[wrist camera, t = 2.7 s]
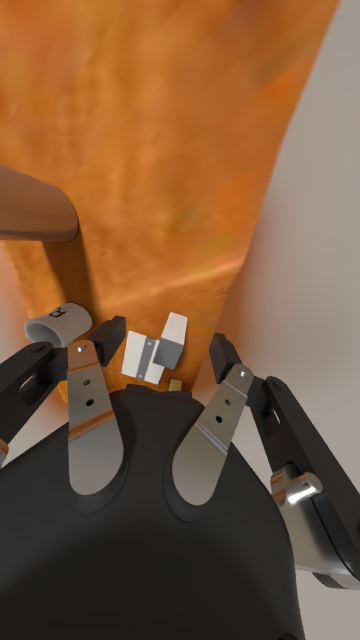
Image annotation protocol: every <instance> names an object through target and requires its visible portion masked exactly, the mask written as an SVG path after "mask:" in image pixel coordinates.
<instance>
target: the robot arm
mask: <svg viewBox="0 0 360 640" xmlns="http://www.w3.org/2000/svg"><path fill="white" fill-rule="evenodd" d="M77 229H78V220H77V215H76V212H75V209H74V207H73V205H72V203H71V202H70V200H69V199H68V197H67V196H66V195H65V194H64V193H63V192H62V191H61V190H60V189H59V188H57V187H55V186H54V185H51V184H49V183H46V182H44V181H41V180H39V179H36V178H34V177H32V176H29V175H27V174H25V173H22V172H20V171H17V170H15V169H12V168H10V167H7V166H5V165H2V164H0V240H20V241H69V240H71V239H72V238H73V237H74V236H75V235H76V233H77ZM125 335H126V318H125V317H121V316H115V317H114V318H113V319H112V320H108V321H106V322H103V323H102V324H101V325H100V326H99V327H98V328H97V329H96V330H95V331H94V332H93V333H92V334H91V335H90V336H88V337H87V338H86V339H85V340H79V341H76V342H73V343H72V344H70V345H69V347H62V348H54V347H53V344H52V343H51V342H47V341H41V342H36V343H32V344H30V345H28V346H26V347H24V348H23V349H21V350H20V351H18V352H17V353H15V354H14V355H13V356H11V357H10V358H8V359H7V360H5V361H4V362H3V363H1V364H0V640H306V639H305V634H304V630H303V625H302V620H301V614H300V608H299V603H298V594H297V587H296V574H295V569H299V570H304V571H309V572H312V573H313V575H314V576H315V577H316V578H317V579H318V580H319V581H320V582H321V583H322V584H324V585H325V586H327V587H329V588H339V589H351V590H360V494H359V492H358V491H357V489H356V488H355V486H354V485H353V484H352V482H351V480H350V479H349V477H348V476H347V475H346V473H345V472H344V470H343V469H342V467H341V466H340V464H339V463H338V461H337V460H336V458H335V457H334V455H333V454H332V452H331V451H330V449H329V448H328V446H327V445H326V443H325V442H324V440H323V439H322V437H321V436H320V434H319V433H318V431H317V430H316V428H315V427H314V425H313V424H312V422H311V421H310V419H309V418H308V416H307V415H306V413H305V412H304V410H303V409H302V407H301V406H300V404H299V403H298V401H297V400H296V398H295V397H294V395H293V394H292V392H291V391H290V389H289V388H288V386H287V385H286V384H285V383H284V382H283V381H281V380H280V379H278V378H276V377H272V376H269V377H267V379H266V380H263V379H261V378H259V377H256V376H254V374H253V372H252V371H251V370H250V369H249V368H248V367H247V366H245V365H243V364H242V362H241V360H240V358H239V356H238V354H237V352H236V350H235V348H234V346H233V344H232V343H231V342H230V341H229V340H227V339H226V337H225V335H224V334H221V333H215V334H214V337H213V339H212V342H211V345H210V349H209V352H210V356H211V361H212V366H213V370H214V374H215V379H216V383H217V384H221V385H220V386H219V388H218V389H217V391H216V392H215V394H214V395H213V397H212V398H211V400H210V401H209V403H208V405H207V406H206V407H205V406H204V405H203V404H201V403H200V402H199V401H197V400H195V399H193V398H192V392H185V391H178V390H175V391H166V392H158V391H155V390H153V389H150V388H148V387H146V386H142V385H135V384H127V386H126V388H125V389H121V390H117V391H114V392H112V393H110V394H108V391H107V387H106V384H105V380H104V376H103V373H102V369H101V367H106V366H107V365H108V363H109V362H110V360H111V359H112V357H113V355H114V354H115V352H116V351H117V349H118V348H119V346H120V345H121V343H122V341H123V340H124V338H125ZM31 376H32V378H31V379H30V380H29V381H28V382H27V383H26V384H25V385H24V386H23V387H22V388H21V386H22V384H23V383H24V382H25V381H27V379H29V378H30V377H31ZM63 380H67V388H68V411H69V421H68V422H67V423H65V424H64V425H63V426H61V427H60V428H58V429H57V430H55V431H54V432H52V433H51V434H50V435H48V436H47V437H45V438H44V439H42V440H41V441H40V442H38V443H37V444H35V445H34V446H32V447H31V448H29V449H28V450H27V451H25V452H24V453H22V454H21V455H19V456H18V457H16V458H15V459H14V460H12V461H11V462H9V463H8V464H7V465H5V466H4V467H3V468H1V467H2V463H3V462H4V460H5V458H6V456H7V454H8V451H9V447H8V444H9V443H10V441H11V440H12V439H13V438H14V436H15V435H16V434H17V433H18V432H19V431H20V429H21V428H22V427H23V426H24V424H25V423H26V422H27V421H28V419H29V418H30V417H31V416H32V415H33V413H34V412H35V411H36V410H37V409H38V408H39V406H40V405H41V404H42V403H43V402H44V400H45V399H46V398H47V397H48V395H49V394H50V393H51V392H52V391H53V389H54V388H55V387H56V386H57V385H58V383H59V382H60V381H63ZM20 388H21V389H20ZM245 405H246V406H249V407H250V409H251V412H252V415H253V417H254V421H255V423H256V426H257V429H258V432H259V435H260V438H261V441H262V444H263V446H264V449H265V452H266V455H267V458H268V461H269V464H270V467H271V469H272V472H273V474H272V476H271V480H270V483H271V489H272V493H271V494H270V493H269V491H268V490H267V488H266V487H265V486H264V484H263V483H262V482H261V480H260V479H259V478H258V476H257V475H256V474H255V472H254V471H253V470H252V468H251V467H250V466H249V464H248V463H247V461H246V460H245V459H244V457H243V456H242V455H241V453H240V452H239V451H238V449H237V448H236V447H235V445H234V444H233V443H232V441H231V440H232V437H233V434H234V432H235V429H236V427H237V424H238V421H239V419H240V416H241V413H242V411H243V408H244V406H245ZM274 411H275V412H276V414H277V416H278V418H279V421H280V424H279V422H278V420H277V417H276V415H275V413H274Z"/></svg>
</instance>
